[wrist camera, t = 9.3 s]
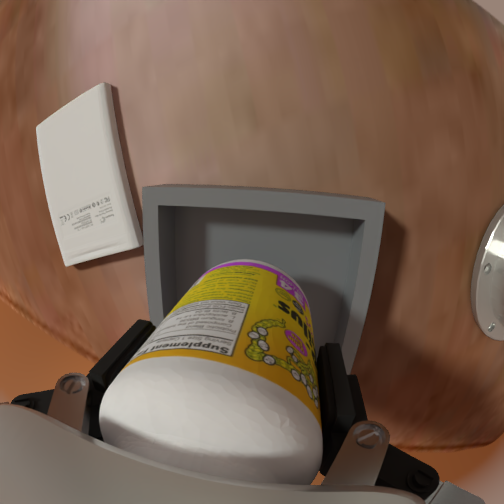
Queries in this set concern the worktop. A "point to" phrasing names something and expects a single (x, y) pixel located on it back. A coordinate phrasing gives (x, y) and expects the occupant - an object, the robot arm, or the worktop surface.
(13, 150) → the worktop surface
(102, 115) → the external hard drive
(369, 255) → the tray
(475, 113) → the worktop surface
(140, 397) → the supplement bottle
